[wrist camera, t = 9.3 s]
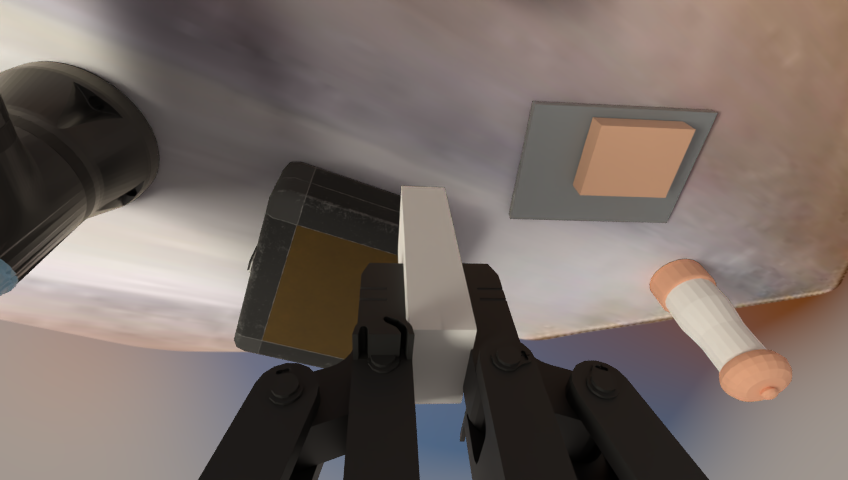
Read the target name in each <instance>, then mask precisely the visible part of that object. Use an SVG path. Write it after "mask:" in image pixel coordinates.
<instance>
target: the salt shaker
mask: <svg viewBox="0 0 848 480" xmlns="http://www.w3.org/2000/svg"><path fill="white" fill-rule="evenodd" d="M650 290H651V292H652V293H653V294H654V296H655V297H656V299H657V300H658V301H659V303H660V304H661V306H662V307H663V308H664V310H666V311H667V312H669V313H671V315H672V316H673V317H674V319H675V320H676V322H677V323H678V325H679V326H680V327H681V329H682V330H683V331H684V332H685V333H686V334H687V335H688V336H690V338H691V339H692V340H693V341H695V342H696V343H697V344H698V345H699V346H700V347H701V348H702V349H703V351H704V352H705V353H706V355H707V356H708V357H709V359H710V360H711V361H712V363H713V364H714V365H715V367H716V368H717V369H718V371H719V372H720V373H719V380H720V384H721V387H722V389H723V390H724V391H725V392H726V393H727V394H728V395H730V396H732V397H734V398H736V399H738V400H741V401H745V402H754V401H761V400H764V399H766V400H771V399H774V398H775V397H777V396H778V393H780V392H781V391H783V390H784V389H785V388H786V387H787V386H788V385H789V384H790V382H791V379H792V369H791V367H790V365H789V363H788V361H787V359H786V358H785V357H783V356H781V355H780V354H777V353H776V352H774V351H772V350H767V349H766V348H765V347H764V346H763V344H762V343H761V342H760V341H759V340H758V339H757V338H756V337H755V335H754V334H753V333H752V332H751V331H750V330H749V329H748V328H747V327H746V325H745V324H744V323H743V321H742V320H741V318H740V316H739V315H738V313H737V312H736V310H735V308H734V307H733V305H732V304H731V302H730V300H729V299H728V298H727V297H726V296H725V295H724V294H723V293H722V292H721V291H720V290H719V289H718V288H717V287H716V282H715V281H714V279H713V278H712V277H711V276H710V275H709V274H708V272H707V271H706V270H705V269H704V268H703V267H702V266H701V265H700V264H699V263H697V262H696V261H694V260H689V259H682V260H676V261H673V262H670V263H668V264H666V265H665V266H663V267H661V268H660V269H659V270H658V271H657V272H656V273H655V274H654V276H653V277H652V278H651V282H650Z"/></svg>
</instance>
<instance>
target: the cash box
mask: <svg viewBox="0 0 848 480" xmlns="http://www.w3.org/2000/svg"><path fill="white" fill-rule="evenodd" d="M400 203H401V196H399V195H396V194H393V193H390V192H388V191H385V190H382V189H379V188H376V187H373V186H370V185H367V184H364V183H361V182H358V181H355V180H353V179H350V178H347V177H344V176H341V175H338V174H335V173H332V172H329V171H326V170H323V169H321V168H318V167H315V166H312V165H309V164H306V163H303V162H291V163H289V164H288V165H287V167H286V168H285V169H284V170H283V171H282V173H281V175H280V177H279V179H278V181H277V183H276V185H275V187H274V189H273V191H272V193H271V195H270V197H269V201H268V205H267V209H266V213H265V217H264V221H263V225H262V229H261V233H260V237H259V241H258V245H257V246H256V248H255V250H254V252H253V255H252V257H251V259H250V261H249V265H248V269H247V270H249V272H251V273H250V277H249V281H248V285H247V289H246V293H245V297H244V301H243V305H242V309H241V313H240V317H239V321H238V325H237V329H236V333H235V337H234V341H235V344H236V347H238V348H240V349H242V350H244V351H247V352H252V353H256V354H261V355H266V356H270V357H275V358H279V359H284V360H288V361H293V362H297V363H302V364H307V365H311V366H316V367H321V368H328V367H331V366H333V365H336V364H338V363H339V362H341V361H343V360H344V359H345V358H346V357H347V356H348V355H349V354H350V353H351V352H352V350H353V346H352V334H353V331H354V328H355V325H356V324H357V323H358V310H359V297H360V285H361V274H362V272H363V271H364V270H365V268H366V267H367V265H368V264H369V263H398V239H399V221H400Z"/></svg>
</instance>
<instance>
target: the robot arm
mask: <svg viewBox="0 0 848 480" xmlns="http://www.w3.org/2000/svg"><path fill="white" fill-rule="evenodd" d="M158 166H159V152H158V146H157V143H156V139H155V137H154V134H153V132H152V130H151V128H150V126H149V124H148V123H147V121H146V119H145V118H144V116H143V115H142V114H141V112H140V111H139V110H138V109H137V108H136V106H135V105H134V104H133V103H132V102H131V101H130V100H129V99H128V98H127V97H126V96H125V95H124V94H122V93H121V92H120V91H119V90H117V89H116V88H115V87H114V86H112V85H111V84H109V83H108V82H106V81H104V80H103V79H101V78H99V77H98V76H96V75H94V74H92V73H90V72H87V71H85V70H83V69H80V68H77V67H74V66H71V65H67V64H63V63H57V62H43V61H41V62H31V63H27V64H23V65H20V66H17V67H14V68H11V69H8V70H5V71H3V72H1V73H0V296H1V295H2V294H5V293H7V292H9V291H11V290H12V289H13V288H14V287H16V284H17V283H18V282H19V281H21V280H22V279H23V278H24V277H25V276H26V275H27V274H28V273H29V272H30V271H31V270H32V269H33V268H34V267H35V266H36V265H37V264H39V263H40V262H41V261H42V260H43V259H44V258H45V257H46V256H47V255H48V254H49V253H50V252H51V251H52V250H53V249H54V248H56V247H57V246H58V245H59V244H60V243H61V242H62V241H63V240H64V239H65V238H66V237H67V236H68V235H69V234H70V233H71V232H72V231H74V230H75V229H76V228H77V227H78V226H79V225H80V224H81V223H82V222H83V221H84V220H85V219H87V218H90V217H93V216H96V215H99V214H102V213H105V212H108V211H111V210H114V209H117V208H120V207H122V206H125V205H127V204H129V203H130V202H132V201H133V200H135V199H136V198H138V197H139V196H140V195H141V194H142V193H143V192H144V191H145V190H146V189H147V188H148V187H149V186H150V185H151V183H152V182H153V180H154V178H155V176H156V174H157V171H158ZM352 346H353V350H352V352H351V353H350V354H349V355H348V356H347V357H346V358H345V359H344V360H343V361H341V362H339V363H338V364H336V365H333V366H331V367H328V368H324V369H321V370H317V371H314V372H313V371H312V370H311V369H310V368H309V367H307V366H304V365H302V364H299V363H285V364H282V365H278V366H275V367H273V368H271V369H270V370H268V371H266V372H265V373H263V374H262V376H261V377H260V378H259V379H258V381H256V383H255V384H254V386H253V388H252V389H251V391H250V393H249V394H248V396H247V398H246V400H245V401H244V403H243V405H242V407H241V408H240V410H239V411H238V413H237V415H236V416H235V418H234V420H233V422H232V423H231V425H230V427H229V428H228V430H227V432H226V433H225V435H224V437H223V439H222V440H221V442H220V444H219V445H218V447H217V449H216V450H215V452H214V454H213V455H212V457H211V459H210V461H209V462H208V464H207V466H206V467H205V469H204V471H203V472H202V474H201V476H200V478H199V479H198V480H318V477H319V474H320V472H321V469H322V466H323V463H324V462H326V461H329V460H331V459H334V458H337V457H340V456H342V455H345V466H344V478H343V480H420V479H419V478H420V477H419V461H418V445H417V429H416V412H415V404H443V403H444V404H445V403H447V404H448V403H461V401H462V396H463V392H464V397H465V403H466V411H465V416H464V420H463V424H462V428H461V433H460V441H464V440H465V436H466V441H467V447H468V454H469V460H470V466H471V473H472V479H473V480H709V479H708V478H707V477H706V475H705V474H704V473H703V472H702V471H701V469H700V468H699V467H698V466H697V464H696V463H695V462H694V461H693V459H692V458H691V457H690V456H689V454H688V453H687V452H686V451H685V450H684V448H683V447H682V446H681V445H680V444H679V442H678V441H677V440H676V439H675V437H674V436H673V435H672V434H671V433H670V431H669V430H668V429H667V428H666V426H665V425H664V424H663V423H662V421H661V420H660V419H659V418H658V417H657V415H656V414H655V413H654V411H653V410H652V409H651V408H650V407H649V405H648V404H647V403H646V402H645V400H644V399H643V398H642V397H641V396H640V394H639V393H638V392H637V391H636V389H635V388H634V387H633V386H632V384H631V383H630V382H629V381H628V380H627V378H626V377H624V375H622V374H621V373H620V372H619V371H618V370H617V369H615V368H613V367H612V366H610V365H608V364H606V363H602V362H599V361H584V362H581V363H579V364H577V365H576V366H575V368H574V370H573V371H571V370H568V369H564V368H560V367H556V366H553V365H549V364H547V363H544V362H541V361H540V360H538V359H536V358H535V357H534V356H533V354H532V352H531V351H530V350H529V349H528V348H527V347H526V346H525V345H524V344H522V343H521V342H520V340H519V338H518V334H517V331H516V328H515V325H514V322H513V319H512V316H511V313H510V310H509V307H508V304H507V301H506V298H505V295H504V292H503V290H502V285H501V282H500V279H499V276H498V275H497V273H496V272H495V271H494V270H493V269H492V268H491V267H490V266H489V265H488V264H465V263H462V262H461V257H460V253H459V248H458V244H457V240H456V235H455V231H454V226H453V222H452V218H451V213H450V209H449V204H448V200H447V196H446V191H445V188H443V187H417V186H401V203H400V221H399V239H398V263H369V264H368V265H367V267H366V268H365V270H364V271H363V272H362V274H361V285H360V297H359V310H358V323H357V324H356V325H355V328H354V331H353V334H352Z"/></svg>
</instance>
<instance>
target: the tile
mask: <svg viewBox="0 0 848 480" xmlns="http://www.w3.org/2000/svg"><path fill="white" fill-rule="evenodd" d="M695 130H696V129H694V128H692V127H691V126H689V125H688V124H686V123H685V122H683V121H663V120H641V119H619V118H597V117H593V118H592V122H591V125H590V128H589V132H588V135H587V138H586V142H585V145H584V149H583V152H582V155H581V159H580V162H579V165H578V169H577V172H576V176H575V179H574V182H573V186H574V188H575V189H576V190H577V192H578V193H579V195H591V196H623V197H655V198H666V195H667V193H668V191H669V189H670V186H671V184H672V182H673V180H674V177H675V175H676V173H677V171H678V168H679V166H680V164H681V162H682V159H683V157H684V155H685V153H686V150H687V148H688V146H689V144H690V142H691V139H692V137H693V135H694V133H695Z"/></svg>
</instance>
